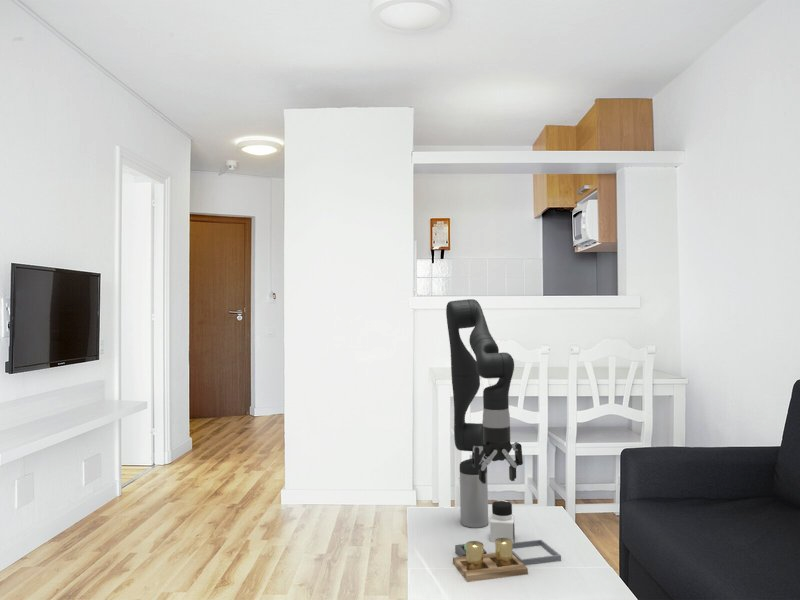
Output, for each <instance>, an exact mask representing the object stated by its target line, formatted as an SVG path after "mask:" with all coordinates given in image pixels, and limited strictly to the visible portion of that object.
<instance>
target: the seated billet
mask: <svg viewBox="0 0 800 600" xmlns="http://www.w3.org/2000/svg"><path fill="white" fill-rule="evenodd" d="M494 543H495V545H494V546H495V548H494V549H495V552H494V553H496V566H497V567H502V566H510V565H513V554H512V551H513V549H512V540H511V539H508V538H498V539H496V540H495V542H494Z"/></svg>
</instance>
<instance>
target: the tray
mask: <svg viewBox="0 0 800 600" xmlns="http://www.w3.org/2000/svg"><path fill="white" fill-rule="evenodd" d="M535 546H536V547H538V546H540V547H542V548H543V549H544V550H545V551H546V552H548V553H549V554H550V555H547V556H537V557H530V558H521V557H520V556H519V555H518V554H516V552H515V551H514V550H513V549H520V548H530V547H535ZM512 554H513V555H514V556H515V557H516V558H517V559H518V560H520V561H521V562H522V563H523V564H524V565H525V566H529V565H537V564H538V565H539V564H546V563H547V564H548V563H555V562H562V555H561V554H560V553H559V552H557V551H556V550H555V549H554V548H552V546H550V545H549V544H548V543H546V542H545V541H544V540H543V539H535V540H534V539H533V540H527V541H526V540H525V541H524V540H523V541H516V542H515V541H514V543H512Z"/></svg>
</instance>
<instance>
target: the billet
mask: <svg viewBox="0 0 800 600" xmlns="http://www.w3.org/2000/svg"><path fill="white" fill-rule="evenodd" d="M465 544H466V569H467V571H469V570H478V569H484V568H483V549H484V543H483V542H481V541H478V540H470V541H467V542H466V543H465Z"/></svg>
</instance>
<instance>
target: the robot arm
mask: <svg viewBox="0 0 800 600" xmlns="http://www.w3.org/2000/svg"><path fill="white" fill-rule="evenodd" d="M445 311H446V312H445V315H446V324H447V333H448V340H449V341H448V342H449V348H450V349H449V351H450V372H451V374H450V376H451V384H452V385H451V387H452V395H453V396H452V397H453V408H454V409H453V414H454V417H453V418H454V419H453V430H454V431H453V432H454V433H453V437H454V445H455V446H454V447H455V448H456V449H457V450H458V451H461V452H463V451H464V452H471V458H469V459H465V460H463V461H461V462H460V463H459V502H460V503H459V504H460V505H459V507H460V511H459V512H460V524H461V525H463V526H464V527H468V528H473V529H474V528H475V529H476V528H483V527H486V526H487V525H489V497H488V496H489V494H488V493H489V491H488V490H489V489H488V486H489V485H488V484H489V483H488V466H489V465H490V464H491V462H497V461H502V462H503V461H504V460H505V461H506V462H507V463H508V464H509V466H508V475H509V481H511V482H515V480H516V479H517V467H519V466H522V465H523V464H524V461H523V449H522V444H521V443H519V442H518V441H515V442H514V443H511V417H510V407H509V391H510V386H511V382H512V379H513V375H514V371H515V370H514V369H515V361H514V358H513V356H512V354H510V353H509V352H499V351H500V349H499V346H498V344H497V343H496V341H495V339H494V337H493V336H492V334H491V332H490V330H489V327H488V324H487V321H486V317H485V315H484V312H483V309H482V306H481V304H480V303H479V301H477V300H476V299H473V298H472V299H471V298H470V299H460V300H459V299H457V300H451V301H448V302H447V303H446V307H445ZM467 328H468V329H469V328H473V329H472V331H471V333H470V335H469V338H468V339H469V345H470V348H471V350H472V352H473V354H474V355H475V358H474V356H473V355H472V354H471V352H470V351H469V349H468V348H467V347H466V345H465V344H464V342H463V340H462V338H461V335H460V329H467ZM481 378H482V379H498V380H497V382H496V383H495V384H492V385H490V386H487V387H485V388H484V389H483V392H482V398H483V400H482V401H483V403H482V404H483V410H482V411H483V412H482V423H475V422H474V423H473V422H466V419H465V418H466V413H467V411H468V409H469V407H470V405H471V403H472V402H473V401H474V399H475V397H476V396H477V394H478V392H479V390H480V386H481ZM512 450H513V451H514V459H515V460H514V459H513V457H512V456H511V455H510V453H511V451H512Z"/></svg>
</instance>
